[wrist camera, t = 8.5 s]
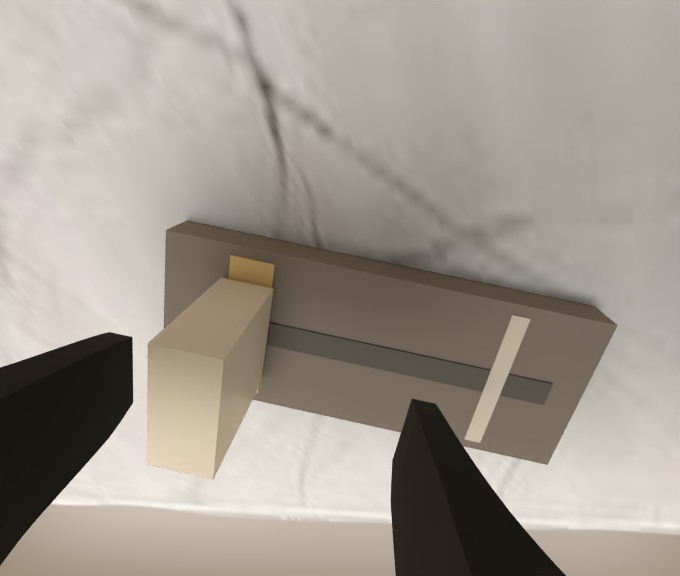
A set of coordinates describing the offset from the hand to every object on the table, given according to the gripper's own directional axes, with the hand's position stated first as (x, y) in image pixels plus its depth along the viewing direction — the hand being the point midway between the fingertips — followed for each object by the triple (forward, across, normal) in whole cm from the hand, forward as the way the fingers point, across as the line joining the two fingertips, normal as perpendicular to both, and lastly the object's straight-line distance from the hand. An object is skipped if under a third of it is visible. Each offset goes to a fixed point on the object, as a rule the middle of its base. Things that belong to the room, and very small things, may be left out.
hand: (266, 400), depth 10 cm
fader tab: (+8, +3, +3) cm, 9 cm away
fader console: (+10, -3, +3) cm, 11 cm away
